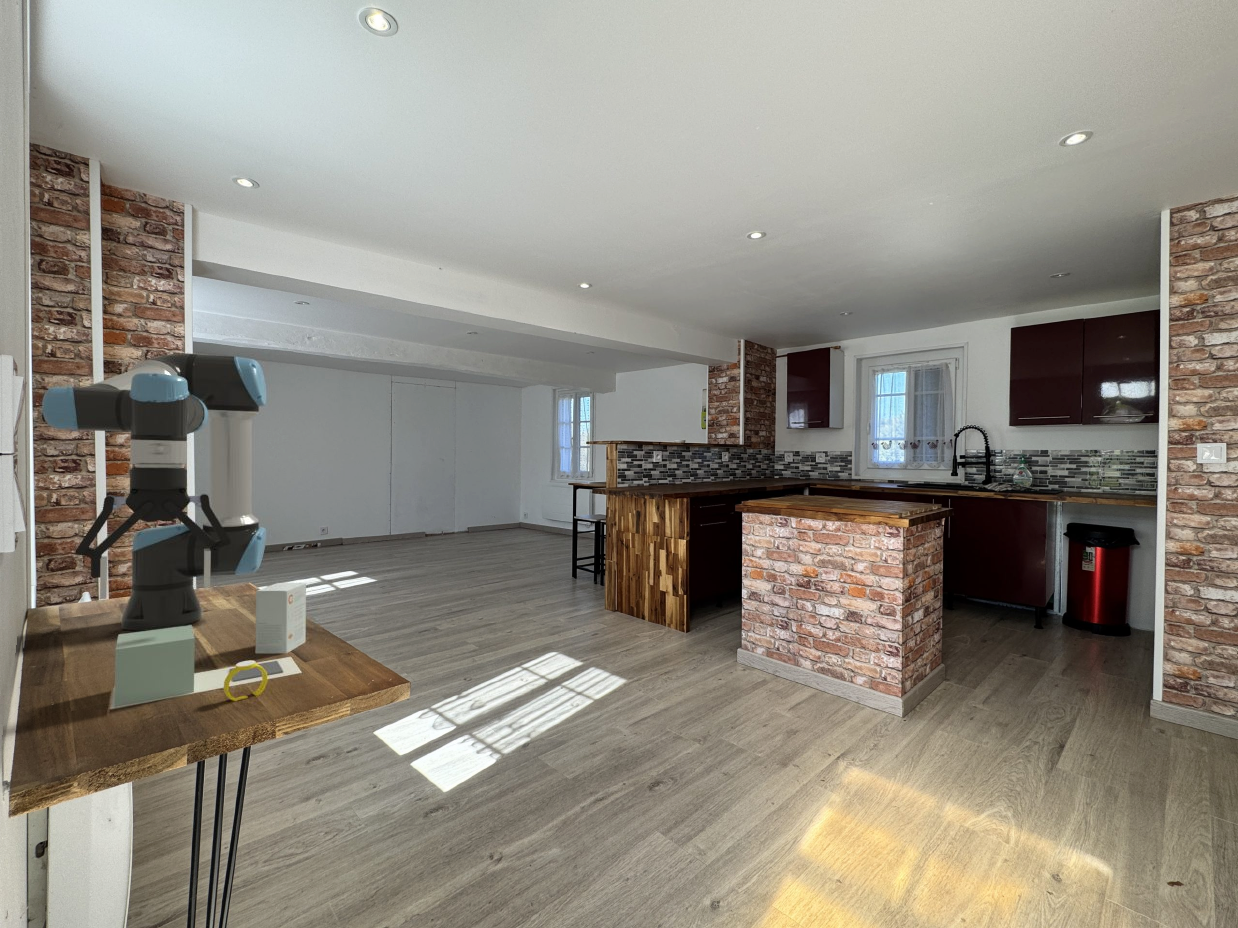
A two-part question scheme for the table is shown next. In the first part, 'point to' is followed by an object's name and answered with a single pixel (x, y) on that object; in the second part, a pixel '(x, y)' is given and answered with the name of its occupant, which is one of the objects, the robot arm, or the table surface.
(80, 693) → the table surface
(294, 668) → the base
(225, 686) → the watch
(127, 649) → the block
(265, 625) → the small box
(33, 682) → the table surface
